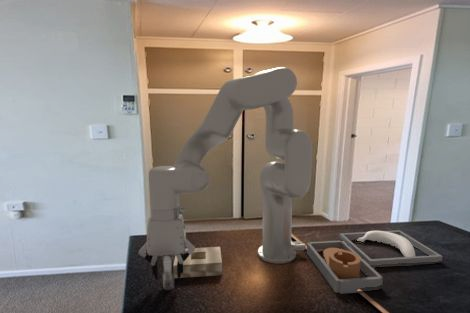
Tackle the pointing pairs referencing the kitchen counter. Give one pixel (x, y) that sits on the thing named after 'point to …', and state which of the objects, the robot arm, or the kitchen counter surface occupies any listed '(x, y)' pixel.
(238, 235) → the kitchen counter surface
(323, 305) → the kitchen counter surface
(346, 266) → the bracket
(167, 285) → the steel peg
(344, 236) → the banana edging
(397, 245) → the banana
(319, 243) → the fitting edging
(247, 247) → the kitchen counter surface
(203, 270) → the hole block
